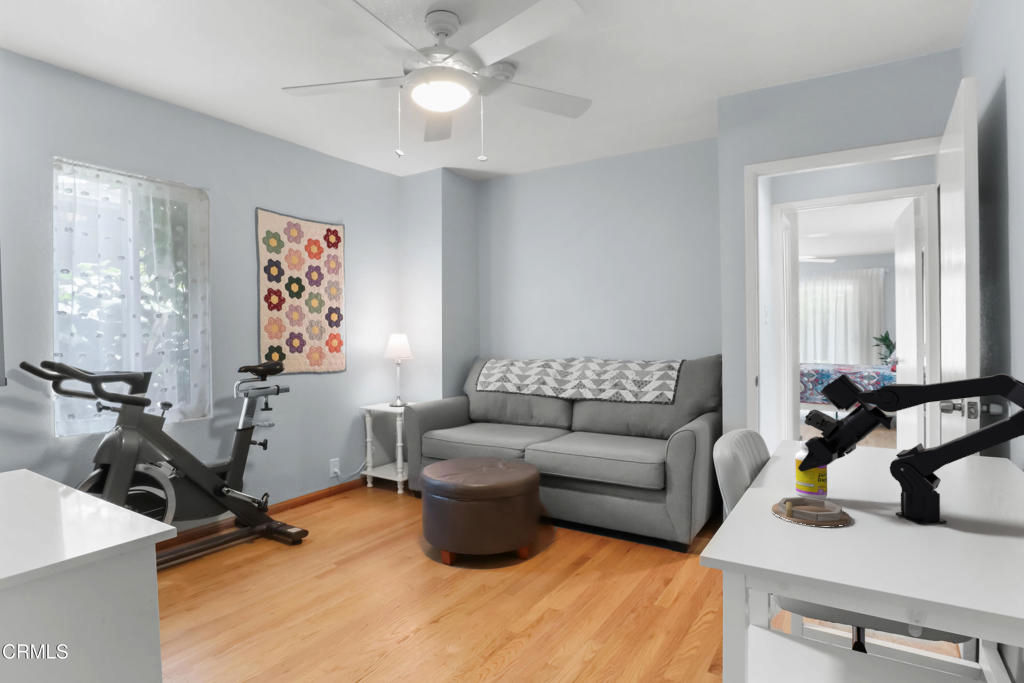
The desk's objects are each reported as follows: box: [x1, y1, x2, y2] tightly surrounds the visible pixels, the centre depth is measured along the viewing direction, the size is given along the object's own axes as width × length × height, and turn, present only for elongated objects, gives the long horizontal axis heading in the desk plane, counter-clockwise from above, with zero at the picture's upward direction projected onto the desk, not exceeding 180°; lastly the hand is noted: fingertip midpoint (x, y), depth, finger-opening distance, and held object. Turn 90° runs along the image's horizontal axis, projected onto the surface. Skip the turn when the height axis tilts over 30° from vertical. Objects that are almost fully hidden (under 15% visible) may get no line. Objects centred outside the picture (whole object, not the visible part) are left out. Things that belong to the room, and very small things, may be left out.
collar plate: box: [771, 496, 851, 526], centre depth 120 cm, size 15×15×4 cm
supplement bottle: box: [794, 440, 828, 500], centre depth 132 cm, size 7×7×13 cm
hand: (804, 467), depth 133 cm, fingers closed on supplement bottle, 7 cm apart
